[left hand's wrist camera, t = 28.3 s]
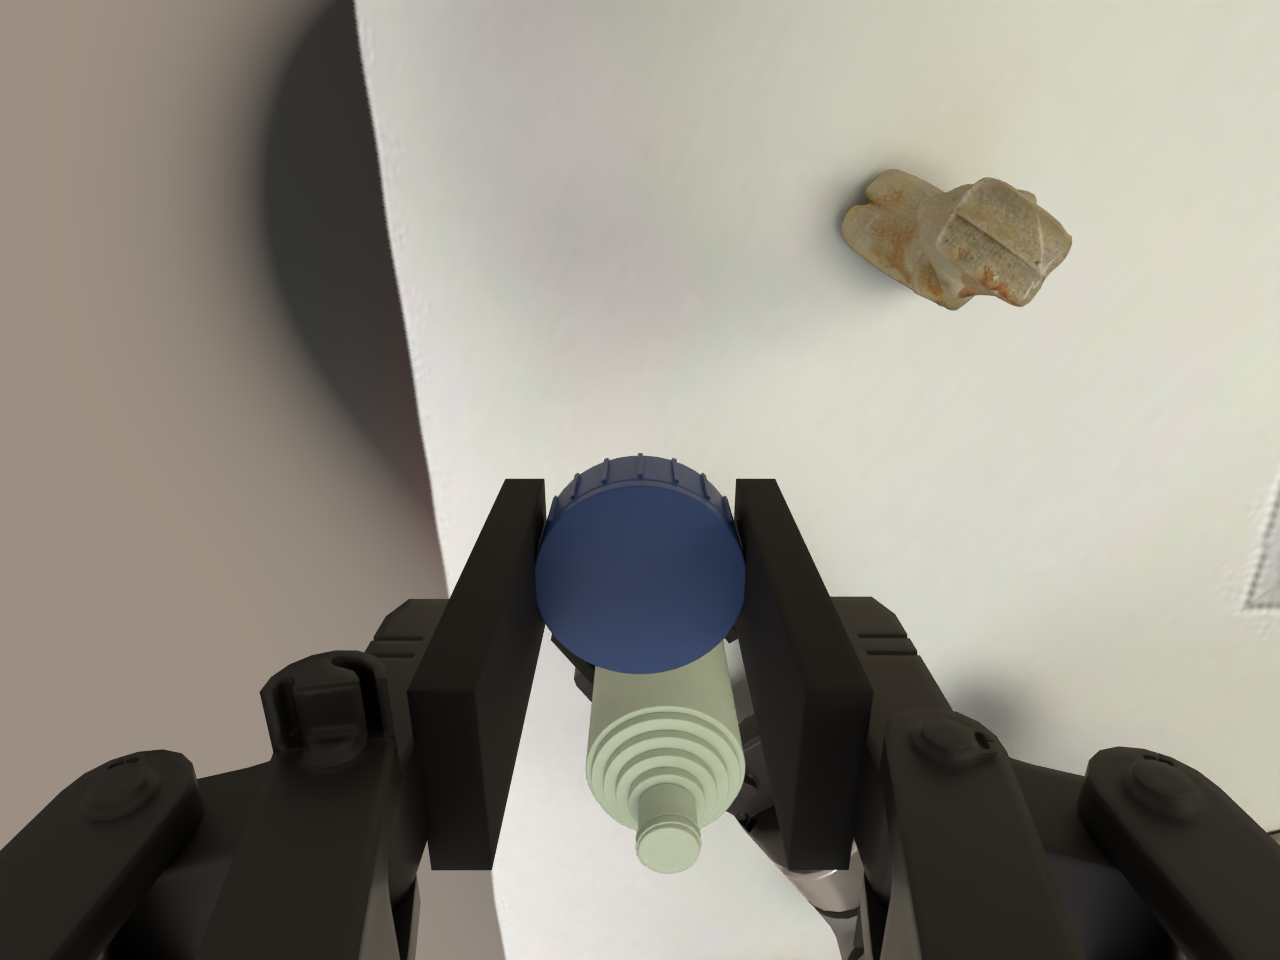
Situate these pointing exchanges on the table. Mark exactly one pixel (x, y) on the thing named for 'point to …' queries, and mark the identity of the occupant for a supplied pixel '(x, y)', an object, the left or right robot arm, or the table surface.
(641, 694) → the bottle
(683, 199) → the table surface
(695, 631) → the cap
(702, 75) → the table surface
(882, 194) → the sculpture
